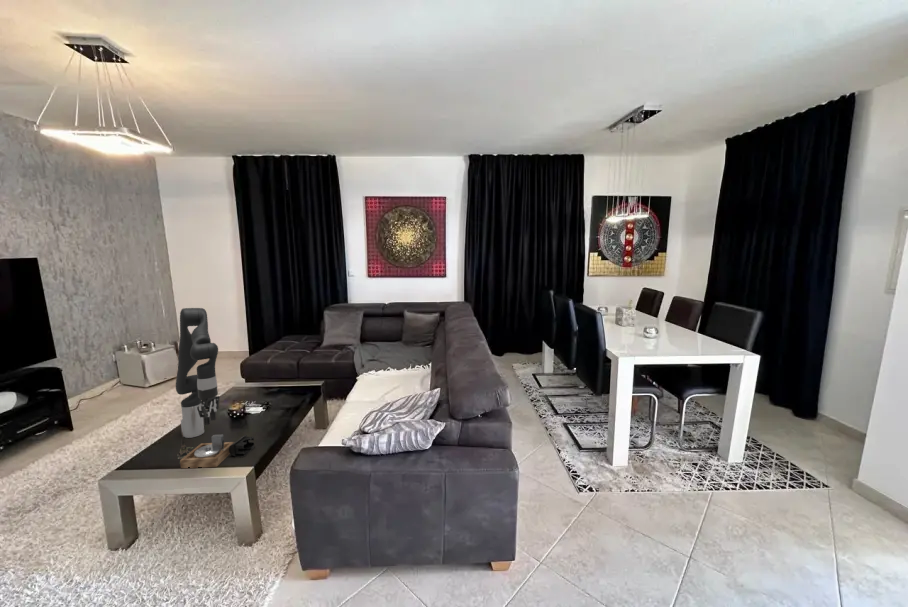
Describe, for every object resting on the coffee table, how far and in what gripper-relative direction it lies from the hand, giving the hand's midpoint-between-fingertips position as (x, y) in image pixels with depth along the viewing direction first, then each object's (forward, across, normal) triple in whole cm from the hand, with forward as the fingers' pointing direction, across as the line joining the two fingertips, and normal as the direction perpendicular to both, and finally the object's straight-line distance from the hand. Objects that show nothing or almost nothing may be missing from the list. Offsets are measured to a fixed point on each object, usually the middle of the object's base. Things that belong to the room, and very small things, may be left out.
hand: (210, 422), depth 171 cm
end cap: (+22, -12, +7) cm, 26 cm away
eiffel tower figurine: (+22, -11, -20) cm, 32 cm away
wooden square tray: (+21, -6, -6) cm, 23 cm away
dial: (+19, -7, -5) cm, 20 cm away
